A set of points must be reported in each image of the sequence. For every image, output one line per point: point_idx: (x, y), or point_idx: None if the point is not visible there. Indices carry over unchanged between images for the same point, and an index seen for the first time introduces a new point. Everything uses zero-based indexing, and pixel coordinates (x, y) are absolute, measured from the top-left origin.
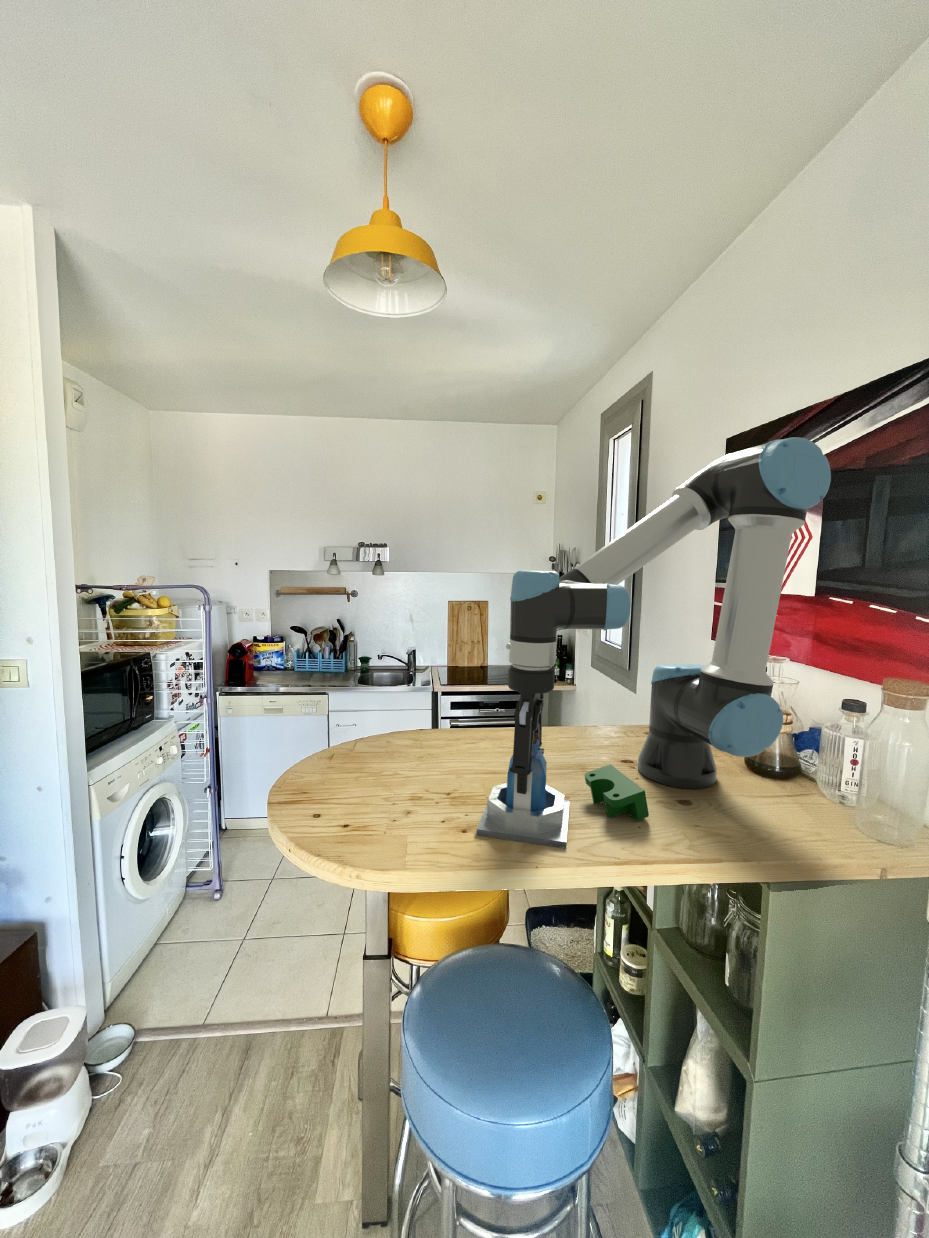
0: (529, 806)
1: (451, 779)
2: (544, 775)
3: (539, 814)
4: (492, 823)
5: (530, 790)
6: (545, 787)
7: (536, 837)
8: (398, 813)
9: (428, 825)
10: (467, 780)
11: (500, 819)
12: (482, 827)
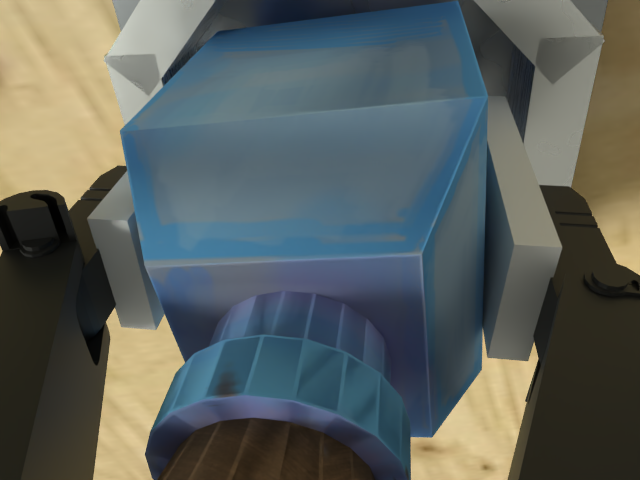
0: (512, 115)
1: (142, 390)
2: (483, 118)
3: (568, 34)
4: None
5: (531, 166)
6: (476, 61)
7: (600, 7)
8: (440, 466)
9: (498, 396)
10: (117, 348)
11: None
12: None
